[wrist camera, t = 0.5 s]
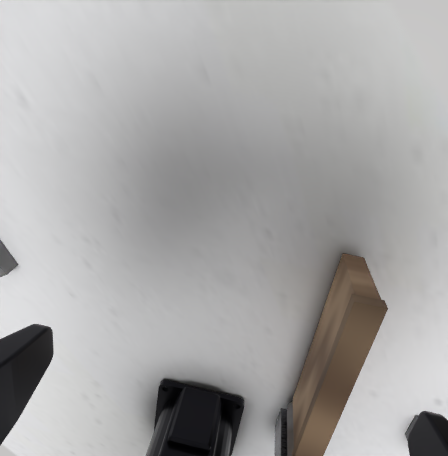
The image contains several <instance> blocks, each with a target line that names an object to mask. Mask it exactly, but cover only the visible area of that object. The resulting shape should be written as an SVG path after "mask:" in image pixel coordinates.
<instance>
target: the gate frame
mask: <svg viewBox="0 0 448 456" xmlns="http://www.w3.org/2000/svg"><path fill="white" fill-rule="evenodd" d="M417 418H418V416H415V418H414V420H413V421H412V423H411V425H410V426H409V428H408V430H407V432H406V433H405V435H406V438H407V441H408V437H409V433H410V431H411V429H412V427H413V426H414V424H415V422H416V420H417ZM275 456H287V410H286V409H281V410H280V413H279V416H278V419H277V423H276V426H275Z"/></svg>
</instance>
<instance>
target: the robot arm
mask: <svg viewBox="0 0 448 456" xmlns="http://www.w3.org/2000/svg"><path fill="white" fill-rule="evenodd" d="M52 357H53V333H52V329H51V328H50V327H48V326H44V325H39V324H33V325H30V326H28V327H26V328H24V329H22V330H19V331H17V332H15V333H13V334H11V335H8V336H6V337H4V338H2V339H0V445H1V444H2V442H3V441H4V439H5V438H6V436H7V435H8V434H9V432H10V431H11V429H12V428H13V426H14V425H15V423H16V422H17V420H18V419H19V417H20V415H21V414H22V412H23V410H24V408H25V407H26V405H27V403H28V401H29V400H30V398H31V396H32V394H33V392H34V391H35V389H36V387H37V385H38V384H39V382H40V380H41V378H42V377H43V375H44V373H45V371H46V370H47V368H48V366H49V364H50V362H51V360H52ZM243 409H244V400H243V399H242V398H239V397H236V396H231V395H227V394H223V393H219V392H215V391H210V390H206V389H202V388H198V387H193V386H189V385H185V384H181V383H177V382H172V381H168V380H163V381H161V383H160V385H159V389H158V399H157V408H156V418H155V427H154V434H153V437H152V439H151V442H150V445H149V448H148V451H147V454H146V456H231V454H232V451H233V447H234V443H235V440H236V436H237V432H238V428H239V424H240V421H241V417H242V413H243ZM408 447H409V453H410V456H448V420H447V419H446V418H445V417H443V416H442V415H440V414H436V413H432V412H427V411H423V412H421V413H420V414H419V416H418V418H417V420H416V422H415V424H414V426H413V427H412V429H411V431H410V433H409V437H408Z"/></svg>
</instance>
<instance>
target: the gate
mask: <svg viewBox="0 0 448 456" xmlns="http://www.w3.org/2000/svg"><path fill="white" fill-rule="evenodd" d="M387 310H388V308H387V305H386V303H385V301H384V300H381V298H380V296H379V293H378V291H377V288H376V286H375V283H374V281H373V279H372V276H371V274H370V271H369V269H368V266H367V264H366V261H365V259H364V258H363V257H358V256H353V255H348V254H343V253H342V256H341V259H340V262H339V265H338V268H337V271H336V274H335V277H334V280H333V283H332V286H331V288H330V291H329V294H328V297H327V300H326V303H325V306H324V309H323V312H322V315H321V318H320V321H319V323H318V326H317V329H316V332H315V335H314V338H313V341H312V344H311V347H310V350H309V353H308V356H307V358H306V361H305V364H304V367H303V370H302V373H301V376H300V379H299V382H298V385H297V388H296V391H295V393H294V396H293V401H292V402H290V403H289V404H288V405H287V456H323V455H324V453H325V450H326V448H327V446H328V444H329V441H330V439H331V437H332V435H333V432H334V430H335V428H336V425H337V423H338V421H339V419H340V416H341V414H342V412H343V410H344V407H345V405H346V403H347V400H348V398H349V396H350V394H351V391H352V389H353V387H354V385H355V382H356V380H357V378H358V375H359V373H360V371H361V369H362V366H363V364H364V362H365V360H366V357H367V355H368V353H369V350H370V348H371V346H372V344H373V341H374V339H375V337H376V335H377V332H378V330H379V328H380V325H381V323H382V321H383V319H384V316H385V314H386V312H387Z"/></svg>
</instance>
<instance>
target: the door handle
mask: <svg viewBox="0 0 448 456" xmlns="http://www.w3.org/2000/svg"><path fill="white" fill-rule="evenodd" d="M17 265H18V263H17V262H16V261H15V259H14V258H13V256H12V255H11V254H10V252H9V251H8V250H7V248H6V247H5V245H4V244H3V243H2V241H1V240H0V277H2V276H4V275H7V274H8V273H9V272H10V271H12V270H13V269H14V268H15V267H16V266H17Z"/></svg>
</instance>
